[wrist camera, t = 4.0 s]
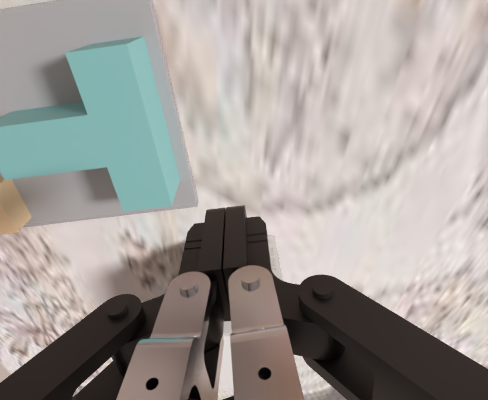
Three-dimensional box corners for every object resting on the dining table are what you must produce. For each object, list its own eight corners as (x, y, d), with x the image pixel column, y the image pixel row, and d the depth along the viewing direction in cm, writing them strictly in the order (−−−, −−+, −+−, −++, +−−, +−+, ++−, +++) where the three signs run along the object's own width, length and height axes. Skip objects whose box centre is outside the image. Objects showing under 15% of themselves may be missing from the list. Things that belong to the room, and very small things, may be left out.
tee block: (143, 36, 25) (126, 44, 22) (180, 180, 32) (171, 206, 28) (-12, 59, 26) (-56, 70, 22) (53, 195, 32) (28, 223, 28)
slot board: (149, -14, 25) (136, -15, 22) (198, 201, 34) (194, 221, 31) (-188, 38, 26) (-244, 44, 23) (-53, 231, 35) (-80, 253, 32)
